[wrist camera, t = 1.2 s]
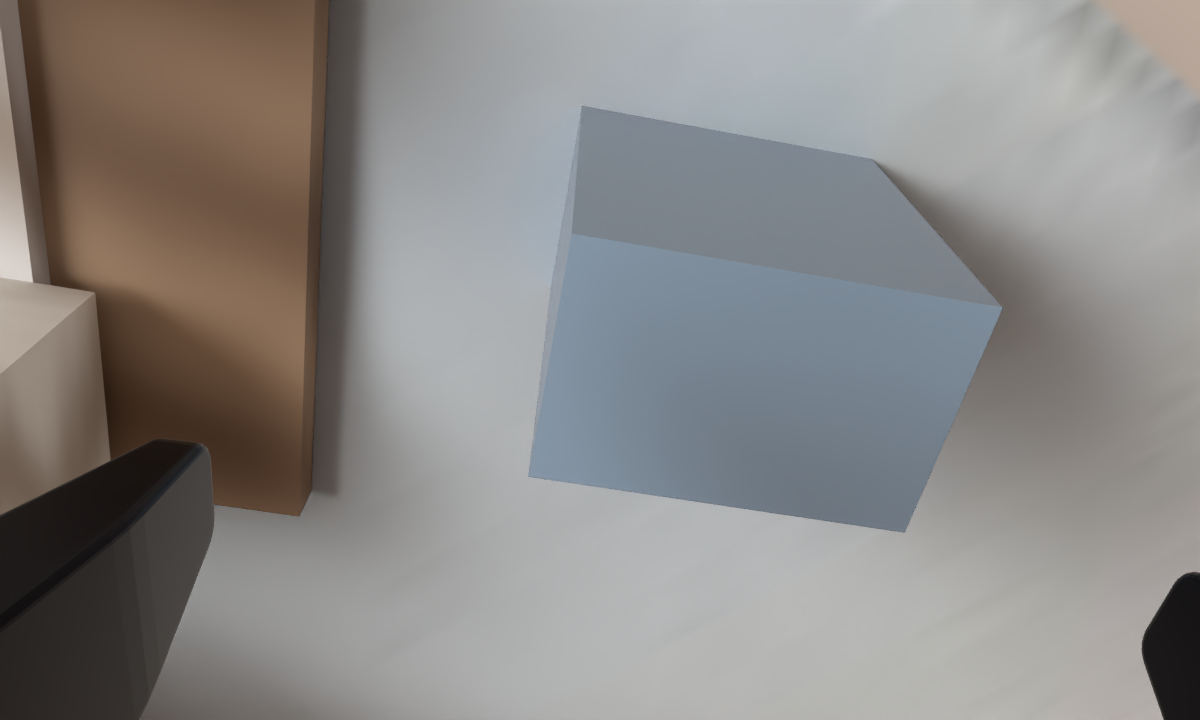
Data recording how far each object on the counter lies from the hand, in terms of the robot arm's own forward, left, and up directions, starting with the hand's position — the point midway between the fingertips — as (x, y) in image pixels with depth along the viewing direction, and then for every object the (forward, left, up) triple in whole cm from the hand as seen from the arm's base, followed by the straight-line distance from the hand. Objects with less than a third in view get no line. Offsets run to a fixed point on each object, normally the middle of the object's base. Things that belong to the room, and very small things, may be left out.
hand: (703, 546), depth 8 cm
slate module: (-1, -1, -12) cm, 12 cm away
